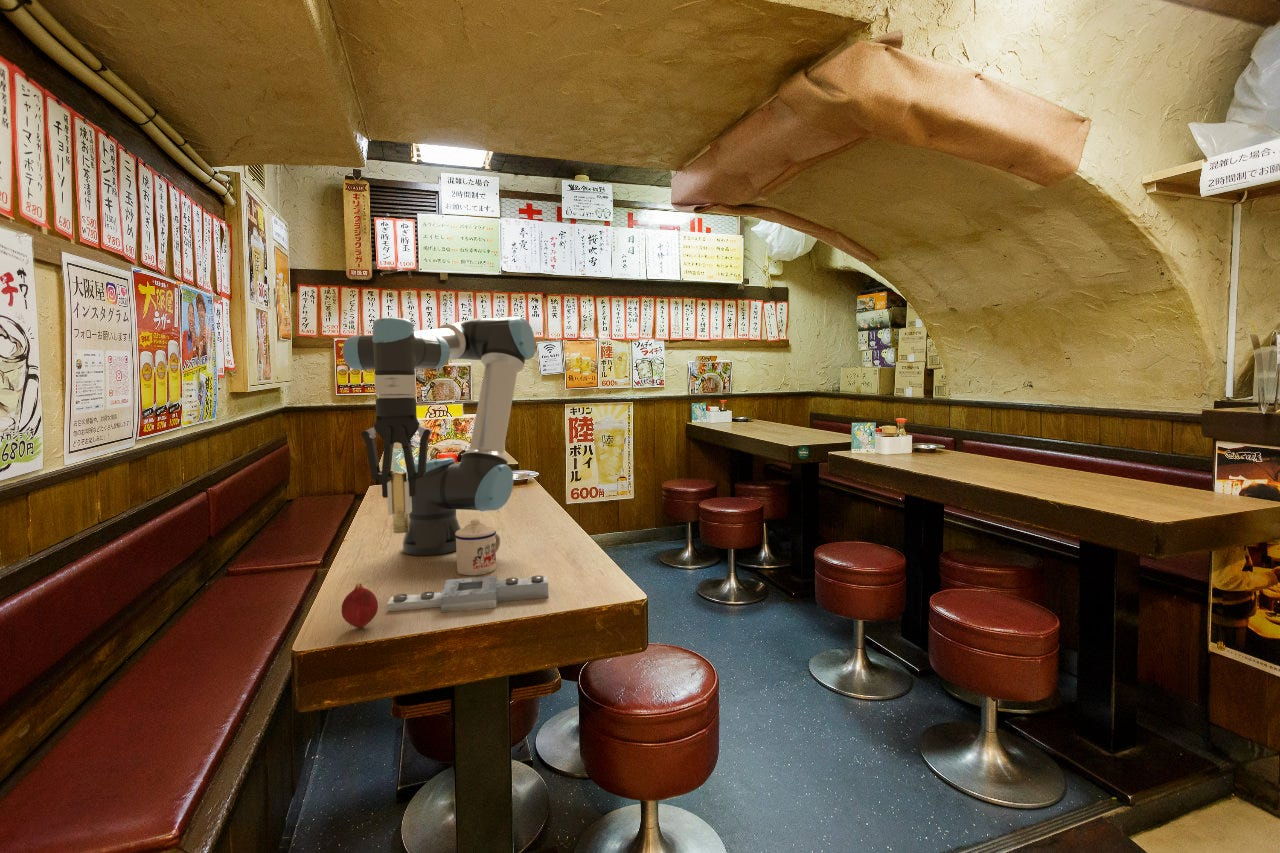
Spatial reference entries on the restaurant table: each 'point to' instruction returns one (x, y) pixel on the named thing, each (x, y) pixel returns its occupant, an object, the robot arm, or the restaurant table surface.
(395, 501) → the brass pin
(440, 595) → the studded slotted bracket
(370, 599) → the onion
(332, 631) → the restaurant table surface
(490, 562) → the teacup with lid
